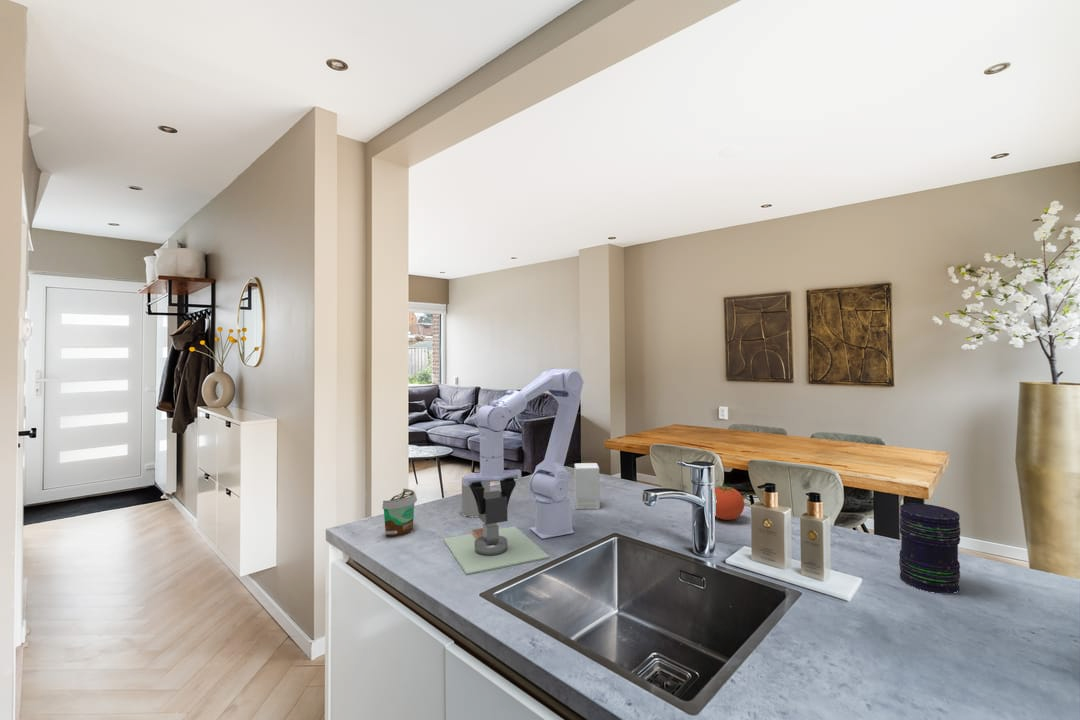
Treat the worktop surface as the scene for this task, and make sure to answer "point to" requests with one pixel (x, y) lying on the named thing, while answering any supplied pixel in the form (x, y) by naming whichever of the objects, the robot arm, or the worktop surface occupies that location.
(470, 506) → the cup
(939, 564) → the storage jar
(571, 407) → the robot arm
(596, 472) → the supplement box
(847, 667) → the worktop surface
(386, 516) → the food container
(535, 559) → the tool mat
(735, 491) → the tomato
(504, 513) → the dark grey cube
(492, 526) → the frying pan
